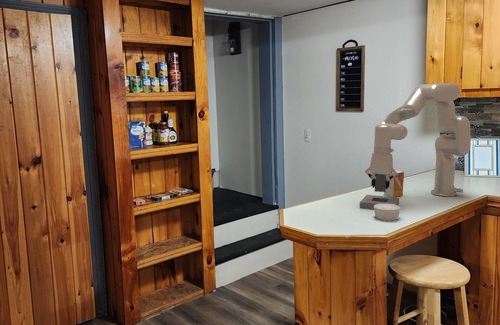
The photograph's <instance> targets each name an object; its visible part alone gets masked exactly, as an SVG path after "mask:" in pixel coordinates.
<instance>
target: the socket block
mask: <svg viewBox="0 0 500 325" xmlns="http://www.w3.org/2000/svg"><path fill="white" fill-rule="evenodd" d="M376 204H394V205H398V206H399V205H400V197H398V196H397V197H389V196H385V195H373V194H365V195H364V197H363V198H362V199H361V200H360V202H359V209H366V210H372V211H374V205H376Z"/></svg>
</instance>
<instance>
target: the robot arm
mask: <svg viewBox="0 0 500 325" xmlns="http://www.w3.org/2000/svg"><path fill="white" fill-rule="evenodd" d="M460 94H461V88H460V86H459V85H458V84H457V83H454V82H453V83H451V82H448V83H444V82H443V83H442V82H441V83H439V82H438V83H426V84H425V83H424V84H419V85H418V86H416V87H415V88H414V89H413V91H412V92H411V94H410V95H409V97H408V98H407V99H406V101H405V102H404V103H403V104H402V105H401V106H399V107H398V108H396V109H395V110H392V111H391V112H390V113H388V114H387V115H386V116H385V117H384V119H382V120H383V121H382V122H381V123H380V124H377V125H375V127H374V142H373V152H372V154H371V159H370V165H369V167H367V169H366V170H365V171H364V173H365V174H366V175H367V176H368V177H369V178H370V180H371V181H370V182H371V184H370V186H372V187H371V188H373V189H375V174H380V175H386V178H387V180H386V189H388V187H389V184H390V180H391V179H392V178H393V177H395V176H396V175H397V172H396V171H395V169H394V166H393V162H394V161H393V154H392V153H393V152H394V149H395V148H394V149H393V148H392V147H391V145H392V140H395V141H401V140H404V139H405V138H406V137H407V136H408V133H409V132H408V129H407V127H406V126H405V125H403V124H399V123H401V122H403V121H406V120H410V119H413V118H415V117H418V115H419V114H420V113H421V112H422V111H423V108H425V106H426V105H427V103H429V102H431V103H434V104H435V107H436V121H437V130H438V131H439V132H440V133H443V134H444V135H439V136H438V137H437V138H435V141H434V149H435V170H434V171H435V172H434V187H433V188H434V189H432V190H431V191H430V194H432V195H433V196H438V197H439V196H440V197H455V196H457V193H461V194H462V193H464V189H463V188H461V187H458V188H457V187H455V173H456V159H455V155H456V156H466V155H467V154H468V153H469V152H470V150H471V145H472V144H471V122H470V120H469V119H468V117H466V116H465V115H457V114H456V106H455V103H454V101H455V100H457V99H458V98H459V97H460ZM446 134H451V135H446ZM392 172H393V175H391V176H390V174H391V173H392Z"/></svg>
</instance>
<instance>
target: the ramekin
mask: <svg viewBox="0 0 500 325" xmlns="http://www.w3.org/2000/svg"><path fill="white" fill-rule="evenodd" d="M373 211H374V215H375V218H376V219H378V220H380V221H387V222H389V221H393V222H394V221H396V220H397V219H398V218H399V217H400V213H401V212H400V211H401V206H399V205H394V204H376V205H374V210H373Z"/></svg>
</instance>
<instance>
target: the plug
mask: <svg viewBox="0 0 500 325" xmlns="http://www.w3.org/2000/svg"><path fill="white" fill-rule="evenodd" d="M374 178H375V187H374V192H377V193H378V192H379V193H384V192H386V175H380V174H375V177H374Z"/></svg>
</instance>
